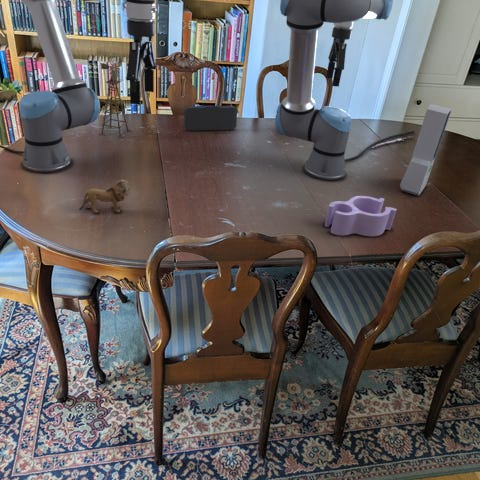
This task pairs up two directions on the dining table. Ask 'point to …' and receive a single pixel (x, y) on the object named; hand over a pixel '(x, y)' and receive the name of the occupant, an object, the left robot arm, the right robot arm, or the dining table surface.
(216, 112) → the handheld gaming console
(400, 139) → the sword
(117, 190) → the lion figurine
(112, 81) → the miniature windmill
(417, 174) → the electronic device
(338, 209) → the clip
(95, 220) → the dining table surface
